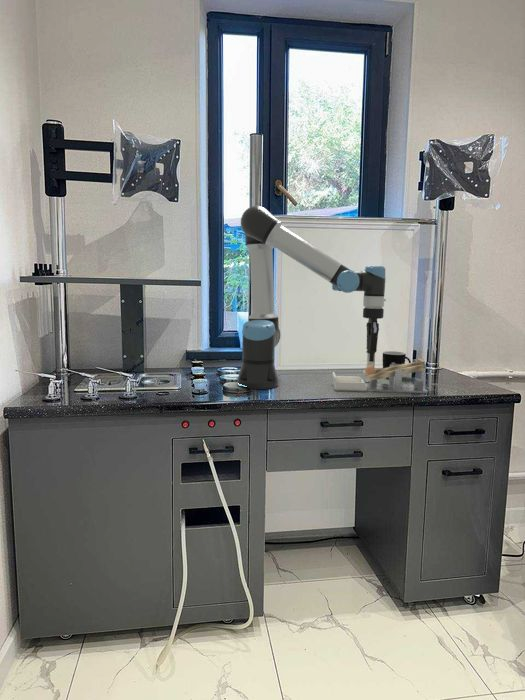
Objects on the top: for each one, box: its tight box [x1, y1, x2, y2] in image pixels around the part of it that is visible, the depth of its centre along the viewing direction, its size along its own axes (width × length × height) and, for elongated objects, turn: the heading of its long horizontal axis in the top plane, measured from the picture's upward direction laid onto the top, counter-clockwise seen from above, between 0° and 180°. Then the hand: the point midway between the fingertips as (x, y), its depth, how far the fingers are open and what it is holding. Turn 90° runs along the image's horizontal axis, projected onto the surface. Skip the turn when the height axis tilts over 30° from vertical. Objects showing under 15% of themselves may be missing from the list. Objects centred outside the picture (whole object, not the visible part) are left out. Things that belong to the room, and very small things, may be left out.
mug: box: [382, 350, 412, 379], centre depth 206 cm, size 12×9×10 cm
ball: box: [364, 365, 377, 377], centre depth 185 cm, size 4×4×4 cm
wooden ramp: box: [362, 357, 427, 381], centre depth 189 cm, size 20×16×4 cm
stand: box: [365, 365, 429, 394], centre depth 185 cm, size 21×11×8 cm, turn 87°
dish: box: [331, 371, 368, 392], centre depth 186 cm, size 11×11×4 cm
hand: (370, 369), depth 194 cm, fingers closed
